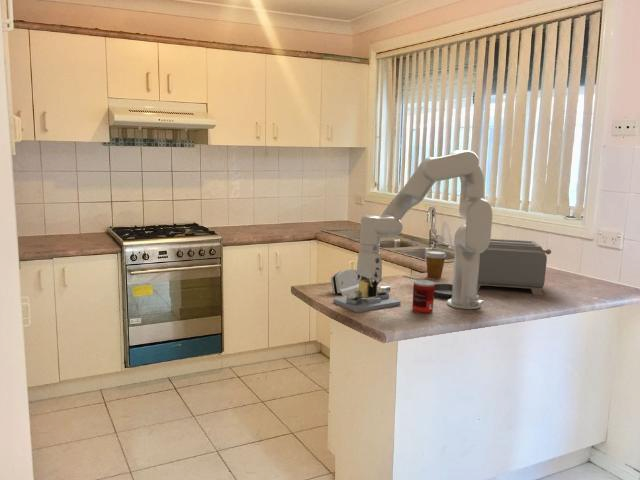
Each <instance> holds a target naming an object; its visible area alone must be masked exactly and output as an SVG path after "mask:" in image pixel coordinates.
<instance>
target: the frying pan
mask: <svg viewBox="0 0 640 480" xmlns="http://www.w3.org/2000/svg"><path fill="white" fill-rule="evenodd" d="M402 278H407V279H412V280H414V281H416V280H421V279H420V278H415V277H411V276H407V275H402ZM452 285H453V283H452V284H450V283H435V288H434V297H437V298H440V299H445V300H448V299H451V298H452Z"/></svg>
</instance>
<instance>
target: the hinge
mask: <svg viewBox="0 0 640 480" xmlns="http://www.w3.org/2000/svg"><path fill="white" fill-rule="evenodd" d="M356 271H357V269H349V268H348V269H343V270H340V271H338V272H336V273H334V274H333V275H332V276H331V277H330V282H331V289H332V294H333V295H336V294H340V295H341V297H346V296H347V294H348V293H350V292H353V291H356V290H359V279H358V276H357V274H356Z"/></svg>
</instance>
